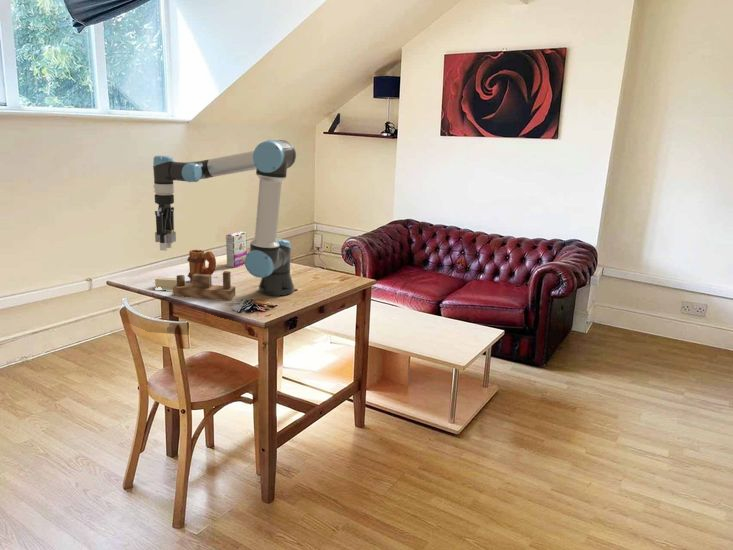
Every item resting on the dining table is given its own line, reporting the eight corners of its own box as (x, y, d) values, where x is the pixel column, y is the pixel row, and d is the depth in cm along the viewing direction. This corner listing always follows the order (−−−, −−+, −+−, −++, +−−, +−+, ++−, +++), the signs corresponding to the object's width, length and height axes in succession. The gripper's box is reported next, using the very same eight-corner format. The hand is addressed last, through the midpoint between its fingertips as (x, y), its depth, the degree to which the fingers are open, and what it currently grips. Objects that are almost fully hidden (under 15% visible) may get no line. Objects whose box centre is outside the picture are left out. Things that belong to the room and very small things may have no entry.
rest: (184, 285, 250) (183, 276, 248) (174, 291, 240) (174, 282, 239) (162, 283, 250) (161, 275, 249) (151, 290, 241) (151, 281, 240)
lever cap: (175, 241, 242) (175, 230, 240) (171, 243, 238) (171, 231, 236) (159, 239, 242) (159, 228, 241) (155, 241, 238) (154, 230, 237)
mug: (183, 281, 255) (182, 249, 251) (196, 278, 262) (195, 246, 258) (208, 287, 248) (207, 254, 244) (221, 283, 255) (220, 250, 251)
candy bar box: (239, 262, 294) (238, 231, 290) (247, 263, 292) (247, 232, 288) (226, 266, 284) (225, 234, 280) (234, 268, 282) (233, 235, 278)
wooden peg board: (235, 295, 239) (235, 270, 236) (230, 300, 232) (229, 274, 229) (179, 291, 240) (179, 266, 237) (173, 296, 233) (172, 270, 231)
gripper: (164, 190, 243) (166, 244, 249) (145, 195, 226) (148, 252, 232) (181, 192, 243) (182, 245, 249) (163, 197, 226) (166, 254, 232)
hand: (166, 248), depth 241 cm, fingers closed on lever cap, 4 cm apart
